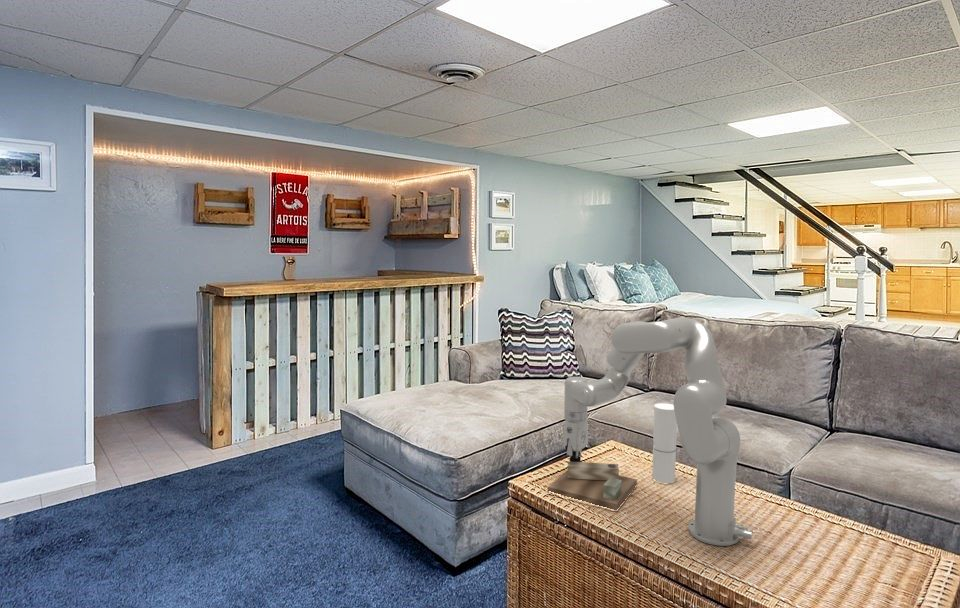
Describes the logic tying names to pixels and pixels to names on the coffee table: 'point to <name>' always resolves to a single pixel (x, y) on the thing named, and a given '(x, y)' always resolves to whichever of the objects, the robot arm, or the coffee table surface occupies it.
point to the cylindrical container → (664, 443)
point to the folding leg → (592, 471)
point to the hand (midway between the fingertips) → (575, 468)
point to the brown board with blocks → (595, 490)
